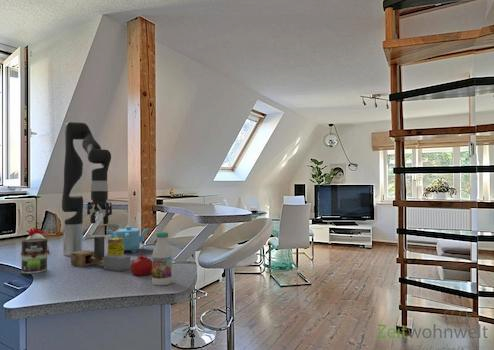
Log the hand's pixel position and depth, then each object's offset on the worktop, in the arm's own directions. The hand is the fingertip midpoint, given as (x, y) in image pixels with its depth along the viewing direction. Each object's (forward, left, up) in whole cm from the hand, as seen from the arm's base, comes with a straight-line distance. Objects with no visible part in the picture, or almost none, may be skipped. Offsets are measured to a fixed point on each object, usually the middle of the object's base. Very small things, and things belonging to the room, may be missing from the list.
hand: (99, 223), depth 171 cm
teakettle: (-17, +36, -21) cm, 45 cm away
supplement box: (-5, +15, -21) cm, 26 cm away
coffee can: (-20, -19, -21) cm, 34 cm away
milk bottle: (+47, -10, -21) cm, 52 cm away
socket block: (-11, 0, -21) cm, 23 cm away
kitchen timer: (-60, +7, -21) cm, 64 cm away
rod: (+5, 0, -19) cm, 20 cm away
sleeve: (+11, 0, -21) cm, 23 cm away
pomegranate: (+29, -2, -21) cm, 36 cm away
